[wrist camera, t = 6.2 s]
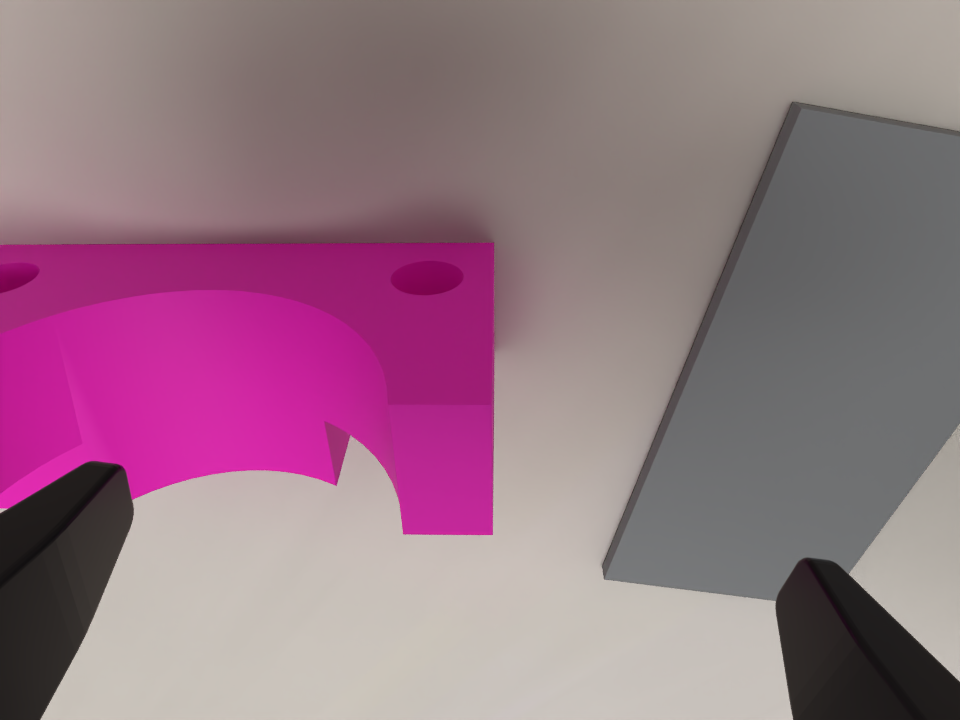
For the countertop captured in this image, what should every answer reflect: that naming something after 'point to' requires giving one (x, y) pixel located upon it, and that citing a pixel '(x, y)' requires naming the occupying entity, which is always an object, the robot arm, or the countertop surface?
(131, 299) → the magenta arched bracket
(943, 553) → the countertop surface
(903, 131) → the mat
